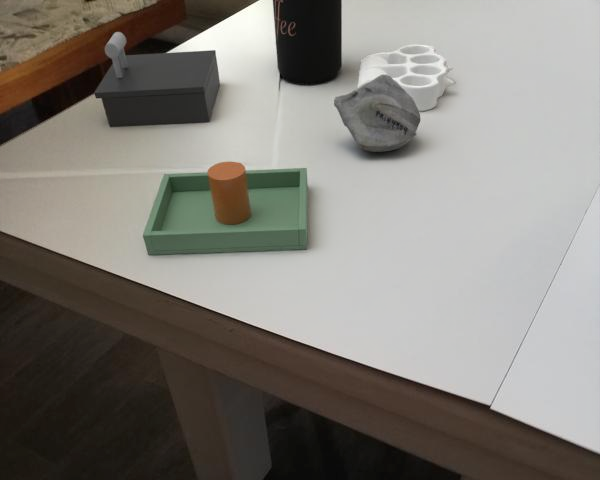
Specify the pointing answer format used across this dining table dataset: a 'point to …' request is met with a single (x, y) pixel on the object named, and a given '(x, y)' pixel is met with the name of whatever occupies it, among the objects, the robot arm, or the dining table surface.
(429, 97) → the white multi-well holder
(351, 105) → the fossil
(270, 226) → the tray
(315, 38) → the coffee jar
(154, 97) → the black box
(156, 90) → the lid
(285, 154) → the dining table surface
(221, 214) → the orange cylinder
